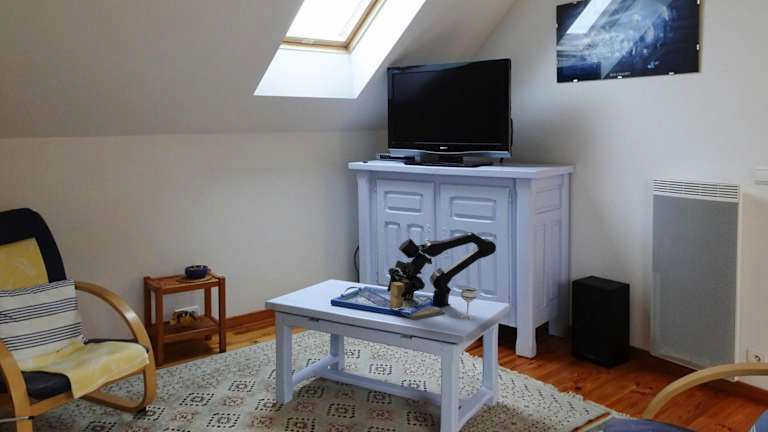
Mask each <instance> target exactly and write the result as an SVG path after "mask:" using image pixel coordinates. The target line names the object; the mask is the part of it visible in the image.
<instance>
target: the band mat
mask: <svg viewBox="0 0 768 432" xmlns="http://www.w3.org/2000/svg"><path fill="white" fill-rule="evenodd" d="M425 306H426V305H425ZM401 315H403V316H404V317H406V318H409V319H410V320H414V321H416V320H422V319H426V318H430V317H436V316H440V315H446V312H445V311H444V309H442V308H439V309H438V308H435V307H433V306H431V305H428V306H426V307H424V308H422V309H421V310H419V311H417V312H416V313H414V314H412V315H408V314H404V313H402V314H401Z"/></svg>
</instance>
